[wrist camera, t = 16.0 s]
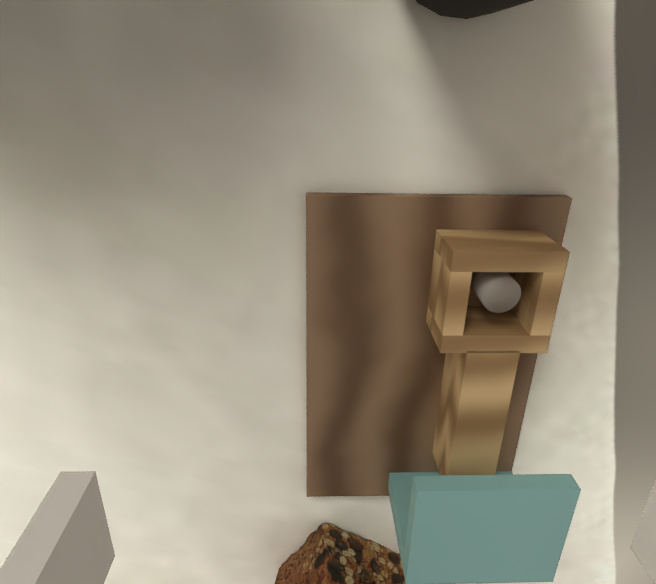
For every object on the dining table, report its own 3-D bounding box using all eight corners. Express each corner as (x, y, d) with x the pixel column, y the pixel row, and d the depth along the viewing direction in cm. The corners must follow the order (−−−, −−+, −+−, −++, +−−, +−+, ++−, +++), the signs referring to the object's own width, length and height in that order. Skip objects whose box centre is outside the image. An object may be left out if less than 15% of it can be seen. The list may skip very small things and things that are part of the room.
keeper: (386, 480, 50) (405, 584, 40) (393, 398, 46) (416, 491, 36) (504, 479, 50) (552, 581, 40) (521, 397, 46) (580, 489, 36)
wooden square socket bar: (494, 451, 47) (514, 492, 43) (411, 452, 47) (422, 493, 42) (538, 230, 38) (569, 252, 34) (436, 229, 38) (453, 251, 33)
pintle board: (306, 488, 50) (306, 535, 45) (306, 192, 37) (305, 211, 32) (502, 486, 50) (523, 532, 45) (565, 195, 38) (604, 214, 33)
